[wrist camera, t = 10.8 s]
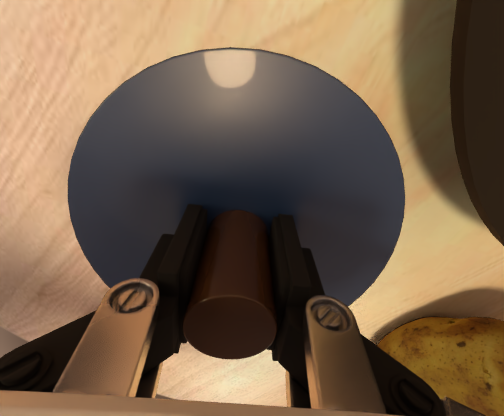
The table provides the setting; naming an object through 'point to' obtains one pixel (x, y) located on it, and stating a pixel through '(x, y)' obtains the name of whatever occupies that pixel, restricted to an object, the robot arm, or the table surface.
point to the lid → (237, 184)
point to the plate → (480, 106)
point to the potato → (455, 358)
